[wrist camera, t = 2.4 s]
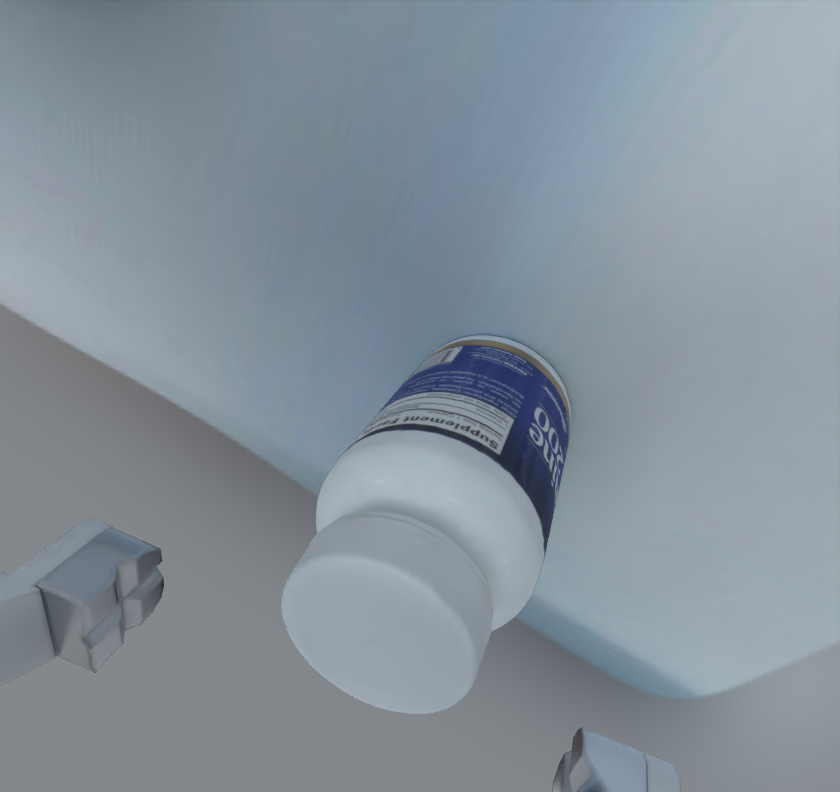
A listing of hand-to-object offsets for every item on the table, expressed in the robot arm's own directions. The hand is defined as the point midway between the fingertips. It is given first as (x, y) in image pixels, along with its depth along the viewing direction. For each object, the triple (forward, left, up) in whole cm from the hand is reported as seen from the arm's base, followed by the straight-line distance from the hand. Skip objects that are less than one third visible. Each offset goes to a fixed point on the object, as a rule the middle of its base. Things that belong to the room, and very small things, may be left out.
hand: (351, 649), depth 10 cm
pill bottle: (0, 0, -10) cm, 10 cm away
